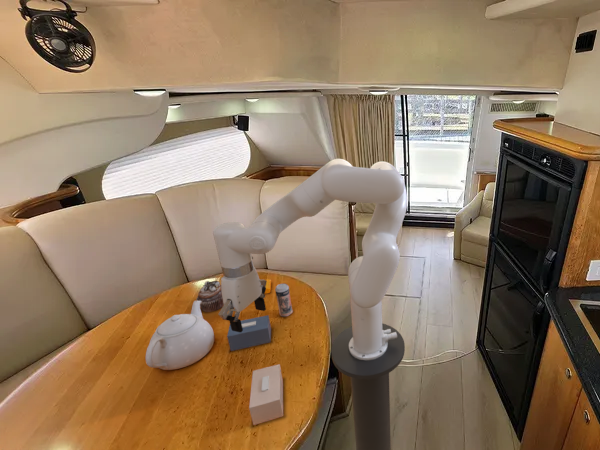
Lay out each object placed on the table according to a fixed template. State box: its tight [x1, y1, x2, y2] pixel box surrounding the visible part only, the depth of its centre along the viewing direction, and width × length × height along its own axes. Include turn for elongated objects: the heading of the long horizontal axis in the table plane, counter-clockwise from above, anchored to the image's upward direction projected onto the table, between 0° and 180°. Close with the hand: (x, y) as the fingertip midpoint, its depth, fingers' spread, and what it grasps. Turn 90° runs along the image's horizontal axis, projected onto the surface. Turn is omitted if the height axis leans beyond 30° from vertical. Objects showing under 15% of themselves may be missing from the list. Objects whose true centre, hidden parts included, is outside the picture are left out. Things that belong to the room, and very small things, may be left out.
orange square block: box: [264, 278, 272, 295], centre depth 133 cm, size 8×8×4 cm
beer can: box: [274, 283, 294, 317], centre depth 116 cm, size 5×5×12 cm
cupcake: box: [196, 280, 224, 313], centre depth 121 cm, size 10×10×10 cm
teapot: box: [145, 300, 215, 371], centre depth 97 cm, size 19×18×14 cm
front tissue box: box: [248, 363, 284, 426], centre depth 82 cm, size 12×7×6 cm, turn 20°
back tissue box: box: [226, 314, 272, 352], centre depth 104 cm, size 12×7×6 cm, turn 110°
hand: (249, 319), depth 90 cm, fingers open, 9 cm apart
